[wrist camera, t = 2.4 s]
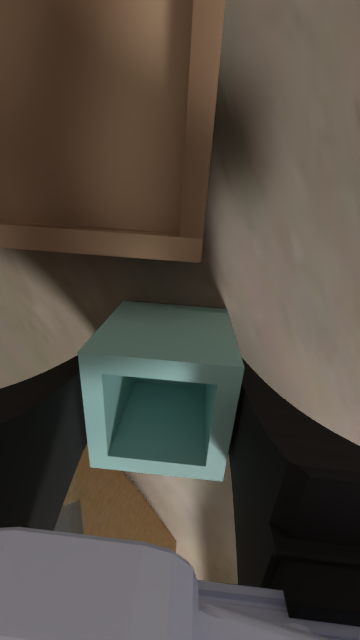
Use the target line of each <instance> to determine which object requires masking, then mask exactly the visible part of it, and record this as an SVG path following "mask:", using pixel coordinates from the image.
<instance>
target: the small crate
mask: <svg viewBox="0 0 360 640" xmlns="http://www.w3.org/2000/svg"><path fill="white" fill-rule="evenodd" d="M78 361H79V370H80V379H81V388H82V397H83V406H84V416H85V425H86V434H87V443H88V452H89V461H90V467H92V468H101V469H111V470H120V471H129V472H138V473H147V474H157V475H166V476H175V477H184V478H194V479H203V480H212V481H221V482H223V477H224V472H225V467H226V462H227V456H228V451H229V446H230V441H231V436H232V430H233V425H234V420H235V415H236V410H237V405H238V399H239V394H240V389H241V384H242V379H243V373H244V368H245V367H244V364H243V361H242V357H241V354H240V351H239V347H238V344H237V341H236V337H235V334H234V331H233V328H232V324H231V321H230V318H229V314H228V311H227V309H221V308H209V307H197V306H185V305H173V304H160V303H148V302H136V301H124V300H123V301H122V302H121V304H120V305H119V306H118V307H117V308H116V309H115V310H114V312H113V313H112V314H111V315H110V316H109V317H108V318H107V320H106V321H105V322H104V323H103V324H102V325H101V326H100V327H99V329H98V330H97V331H96V332H95V333H94V334H93V335H92V337H91V338H90V339H89V340H88V341H87V342H86V343H85V345H84V346H83V347H82V348H81V349H80V350H79V351H78Z"/></svg>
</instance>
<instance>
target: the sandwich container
mask: <svg viewBox="0 0 360 640" xmlns="http://www.w3.org/2000/svg"><path fill="white" fill-rule="evenodd" d="M54 531H58V532H66V533H75V534H83V535H92V536H100V537H108V538H117V539H125V540H134V541H142V542H147V543H151V544H154V545H158V546H162V547H165V548H169V549H171V550H173V551H174V552H175V553H176V540H175V539H174V537H173V536H172V535H171V533H170V532H169V531H168V529H167V528H166V527H165V525H164V524H163V523H162V521H161V520H160V519H159V517H158V516H157V515H156V513H155V512H154V510H153V509H152V508H151V506H150V505H149V504H148V502H147V501H146V500H145V498H144V497H143V496H142V494H141V493H140V492H139V491H138V490H137V488H136V487H135V486H134V485H133V484H132V482H131V481H130V480H129V479H128V478H127V476H126V475H125V474H124V473H123V472H122V471H120V470H111V469H101V468H92V467H90V461H89V452H88V443H87V445H86V447H85V449H84V451H83V453H82V456H81V458H80V461H79V463H78V466H77V468H76V471H75V473H74V476H73V479H72V481H71V484H70V487H69V489H68V492H67V495H66V497H65V500H64V503H63V506H62V509H61V511H60V514H59V517H58V520H57V523H56V526H55V529H54Z"/></svg>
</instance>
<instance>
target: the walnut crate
mask: <svg viewBox="0 0 360 640" xmlns="http://www.w3.org/2000/svg"><path fill="white" fill-rule="evenodd" d="M225 2H226V0H0V248H10V249H23V250H36V251H50V252H63V253H76V254H89V255H102V256H116V257H129V258H142V259H155V260H168V261H182V262H195V263H201V256H202V245H203V235H204V224H205V214H206V203H207V193H208V182H209V171H210V161H211V150H212V140H213V129H214V118H215V108H216V97H217V87H218V76H219V66H220V55H221V44H222V34H223V23H224V13H225Z"/></svg>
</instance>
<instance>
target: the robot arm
mask: <svg viewBox="0 0 360 640" xmlns="http://www.w3.org/2000/svg"><path fill="white" fill-rule="evenodd" d="M242 361H243V364H244V367H245V368H244V373H243V379H242V384H241V389H240V394H239V399H238V405H237V410H236V415H235V420H234V425H233V430H232V436H231V441H230V446H229V451H228V453H229V459H230V466H231V477H232V489H233V503H234V517H235V533H236V550H237V570H238V585H234V584H226V583H218V582H210V581H202V580H197V578H196V575H195V572H194V569H193V567H192V566H191V565H190V563H189V562H188V561H186V560H185V559H184V558H182V557H181V556H179V555H178V554H177V553H175V552H174V551H173V550H171V549H169V548H165V547H162V546H158V545H154V544H151V543H147V542H142V541H134V540H125V539H117V538H108V537H100V536H92V535H83V534H75V533H66V532H58V531H54V529H55V526H56V523H57V520H58V517H59V514H60V511H61V509H62V506H63V503H64V500H65V497H66V495H67V492H68V489H69V487H70V484H71V481H72V479H73V476H74V473H75V471H76V468H77V466H78V463H79V461H80V458H81V456H82V453H83V451H84V449H85V447H86V445H87V434H86V425H85V416H84V406H83V397H82V388H81V379H80V370H79V361H78V355H77V356H75V357H74V358H72V359H70V360H68V361H66V362H64V363H62V364H60V365H58V366H56V367H54V368H52V369H50V370H48V371H46V372H44V373H42V374H39V375H37V376H34V377H32V378H29V379H27V380H24V381H22V382H19V383H16V384H13V385H10V386H7V387H4V388H1V389H0V640H360V446H358V445H356V444H354V443H353V442H351V441H349V440H347V439H345V438H343V437H341V436H340V435H338V434H336V433H334V432H332V431H331V430H329V429H327V428H326V427H324V426H322V425H321V424H319V423H317V422H316V421H314V420H313V419H311V418H310V417H308V416H307V415H305V414H304V413H302V412H301V411H299V410H298V409H297V408H295V407H294V406H293V405H291V404H290V403H289V402H287V401H286V400H285V399H284V398H282V397H281V396H280V395H279V394H278V393H276V392H275V391H274V390H273V389H272V388H271V387H270V386H269V385H268V384H267V383H265V382H264V381H263V380H262V379H261V378H260V377H259V376H258V375H257V374H256V372H255V371H254V370H253V369H252V368H251V367H250V366H249V365H248V364H247V363H246V362H245V361H244V359H243V358H242Z"/></svg>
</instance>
